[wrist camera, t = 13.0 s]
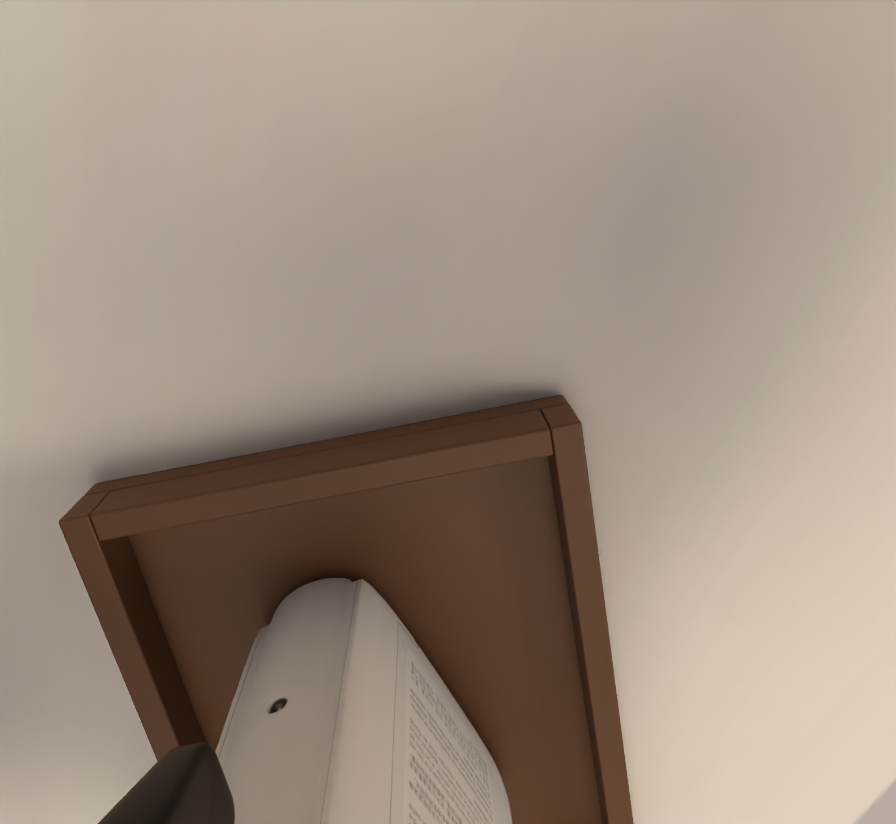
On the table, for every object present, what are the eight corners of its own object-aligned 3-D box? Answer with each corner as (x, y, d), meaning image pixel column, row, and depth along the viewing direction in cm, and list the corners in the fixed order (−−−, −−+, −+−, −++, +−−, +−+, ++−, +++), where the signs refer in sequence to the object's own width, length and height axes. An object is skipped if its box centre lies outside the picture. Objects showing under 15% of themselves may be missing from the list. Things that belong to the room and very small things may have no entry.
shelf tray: (260, 910, 26) (246, 977, 24) (94, 483, 21) (57, 521, 18) (624, 844, 26) (644, 906, 24) (563, 393, 20) (581, 421, 18)
